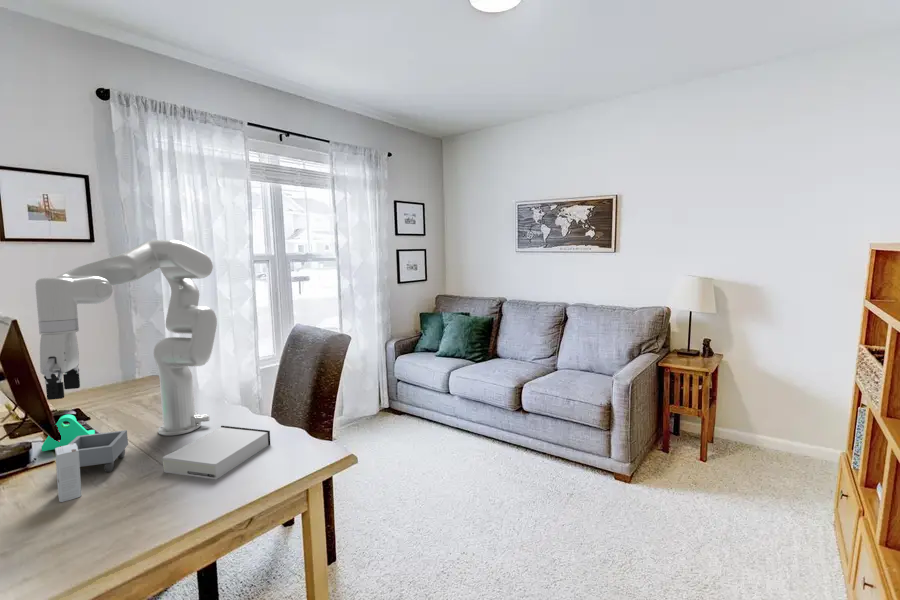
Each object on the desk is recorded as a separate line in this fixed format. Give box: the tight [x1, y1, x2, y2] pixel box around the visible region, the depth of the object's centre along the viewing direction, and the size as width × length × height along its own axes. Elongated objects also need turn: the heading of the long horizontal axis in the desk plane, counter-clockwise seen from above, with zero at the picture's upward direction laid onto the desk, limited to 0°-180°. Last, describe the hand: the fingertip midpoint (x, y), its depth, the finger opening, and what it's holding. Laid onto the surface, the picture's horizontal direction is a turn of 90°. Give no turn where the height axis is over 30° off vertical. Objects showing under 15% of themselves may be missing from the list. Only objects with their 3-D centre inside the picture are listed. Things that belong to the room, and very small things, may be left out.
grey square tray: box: [68, 429, 129, 473], centre depth 126 cm, size 12×12×8 cm
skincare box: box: [54, 443, 83, 503], centre depth 111 cm, size 6×4×12 cm
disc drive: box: [162, 425, 271, 480], centre depth 132 cm, size 18×22×5 cm
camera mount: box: [41, 414, 96, 452], centre depth 141 cm, size 12×8×10 cm, turn 123°
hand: (64, 393), depth 114 cm, fingers open, 9 cm apart
